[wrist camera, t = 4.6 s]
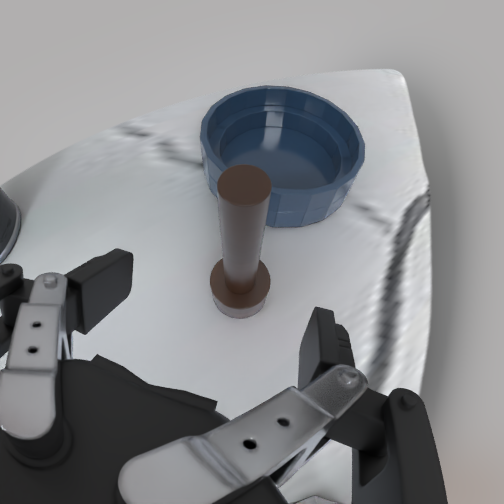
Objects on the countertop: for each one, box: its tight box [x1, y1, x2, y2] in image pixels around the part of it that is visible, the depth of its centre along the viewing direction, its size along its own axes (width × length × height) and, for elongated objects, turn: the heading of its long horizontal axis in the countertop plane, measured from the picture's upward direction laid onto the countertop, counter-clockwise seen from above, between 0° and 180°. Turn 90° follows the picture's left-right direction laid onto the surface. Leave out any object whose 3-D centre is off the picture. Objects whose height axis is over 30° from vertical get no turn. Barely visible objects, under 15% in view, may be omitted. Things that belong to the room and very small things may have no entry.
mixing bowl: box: [200, 86, 365, 227], centre depth 28 cm, size 15×15×6 cm
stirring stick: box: [210, 164, 272, 319], centre depth 18 cm, size 4×4×14 cm
